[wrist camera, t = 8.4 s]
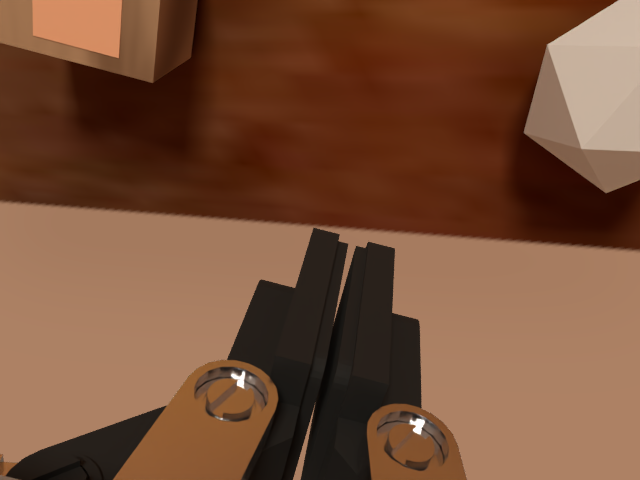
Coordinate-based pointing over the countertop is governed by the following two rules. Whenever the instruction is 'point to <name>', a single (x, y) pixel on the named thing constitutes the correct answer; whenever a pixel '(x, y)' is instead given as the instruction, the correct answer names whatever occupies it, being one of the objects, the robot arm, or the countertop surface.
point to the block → (104, 32)
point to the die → (593, 98)
